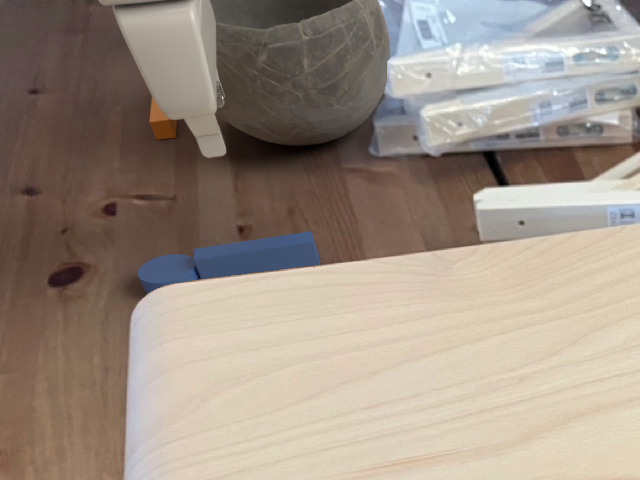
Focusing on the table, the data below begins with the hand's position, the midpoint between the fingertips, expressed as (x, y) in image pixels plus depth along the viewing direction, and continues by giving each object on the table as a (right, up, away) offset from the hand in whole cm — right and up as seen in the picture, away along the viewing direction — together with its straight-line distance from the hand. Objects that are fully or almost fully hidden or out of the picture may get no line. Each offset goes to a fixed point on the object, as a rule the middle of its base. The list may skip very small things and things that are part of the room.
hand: (215, 128), depth 82 cm
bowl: (-4, +11, +29) cm, 31 cm away
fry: (-21, +14, +31) cm, 40 cm away
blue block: (-3, -10, +8) cm, 13 cm away
